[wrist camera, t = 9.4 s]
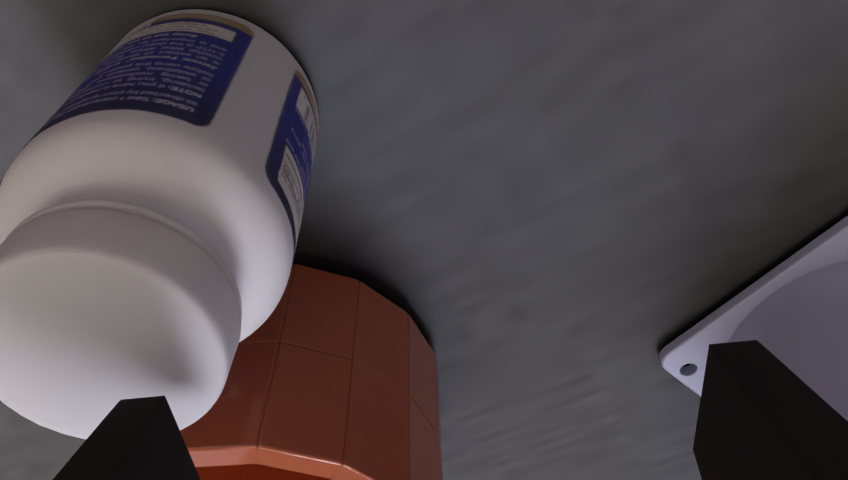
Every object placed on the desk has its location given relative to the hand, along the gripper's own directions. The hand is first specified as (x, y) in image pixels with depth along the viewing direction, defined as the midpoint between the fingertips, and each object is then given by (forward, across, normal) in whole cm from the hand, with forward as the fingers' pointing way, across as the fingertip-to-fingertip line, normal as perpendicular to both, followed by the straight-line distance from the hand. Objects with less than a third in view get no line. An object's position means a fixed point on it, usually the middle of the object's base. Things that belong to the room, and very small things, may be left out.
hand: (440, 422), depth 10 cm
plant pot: (+10, +5, +8) cm, 14 cm away
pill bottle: (+11, +5, 0) cm, 12 cm away
